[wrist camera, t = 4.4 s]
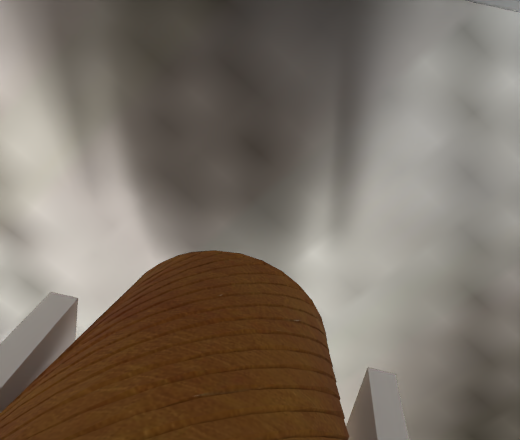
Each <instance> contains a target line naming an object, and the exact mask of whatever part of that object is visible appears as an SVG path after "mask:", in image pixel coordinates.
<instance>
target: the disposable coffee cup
mask: <svg viewBox="0 0 520 440" xmlns="http://www.w3.org/2000/svg"><path fill="white" fill-rule="evenodd" d="M332 367H333V365H332V362H331V358H330V354H329V348H328V345H327V338H326V332H325V329H324V325H323V322H322V319H321V316H320V314H319V312H318V311H317V309H316V307H315V305H314V303H313V301H312V300H311V299H310V298H309V296H308V295H307V294H306V293H305V292H304V290H303V289H302V288H301V287H300V286H299V285H298V284H297V283H296V282H295V281H293V280H292V279H291V278H290V277H288V276H287V275H286V274H285V273H283V272H282V271H281V270H279V269H277V268H275V267H273V266H271V265H269V264H268V263H266V262H264V261H262V260H259V259H256V258H253V257H250V256H247V255H244V254H240V253H232V252H223V251H201V252H190V253H186V254H182V255H178V256H176V257H173V258H171V259H169V260H166V261H164V262H162V263H160V264H158V265H157V266H155V267H154V268H152V269H151V270H149V271H147V272H146V273H145V274H144V275H143V276H142V277H141V278H140V279H139V280H138V281H137V282H136V283H135V284H134V285H133V286H132V287H131V288H130V289H128V290H127V291H126V292H125V293H124V294H123V295H122V296H121V297H120V298H119V299H118V300H117V301H116V302H115V303H114V304H113V305H112V306H111V307H110V308H109V309H108V310H107V311H106V312H104V313H103V314H102V315H101V316H100V317H99V318H98V319H97V320H96V321H95V322H94V323H93V324H92V325H91V326H90V327H89V328H88V329H87V330H86V331H85V332H84V333H83V334H82V335H81V336H80V337H79V338H78V339H77V340H75V341H74V342H73V343H72V344H71V345H70V346H69V347H68V348H67V349H66V350H65V351H64V352H63V353H62V354H61V355H60V356H59V357H58V358H57V359H56V360H55V361H54V362H53V363H52V364H51V365H50V366H48V367H47V368H46V369H45V370H44V371H43V372H42V373H41V374H40V375H39V376H38V377H37V378H36V379H35V380H34V381H33V382H32V383H31V384H30V385H29V386H28V387H27V388H26V389H25V390H24V391H23V392H22V393H21V394H20V395H19V396H18V397H17V398H16V399H15V400H13V401H12V402H11V403H10V404H9V405H8V406H7V407H6V408H5V409H4V410H3V411H2V412H1V413H0V440H348V439H349V434H348V431H347V428H346V425H345V422H344V419H345V417H344V414H343V410H342V407H341V404H340V396H339V393H338V389H337V386H336V379H335V375H334V372H333V368H332Z"/></svg>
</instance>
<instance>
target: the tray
mask: <svg viewBox="0 0 520 440" xmlns="http://www.w3.org/2000/svg"><path fill="white" fill-rule="evenodd" d="M466 1H471V2H475V3H480V4H484V5H489V6H494V7H498V8H503V9H507V10H512V11H516V12H520V0H466Z"/></svg>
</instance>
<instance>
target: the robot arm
mask: <svg viewBox="0 0 520 440" xmlns="http://www.w3.org/2000/svg"><path fill="white" fill-rule="evenodd" d="M77 305H78V298H75V297H71V296H67V295H63V294H58V293H54V292H50V293H49V294H48V296H47V297H46V298H45V299H44V300H43V301H42V302H41V303H40V304H39V305H38V306H37V307H36V308H35V309H34V310H33V311H32V312H31V313H30V314H29V315H28V316H27V317H26V318H25V319H24V320H23V321H22V322H21V323H20V324H19V325H18V326H17V327H16V328H15V329H14V330H13V331H12V332H11V334H10V335H9V336H8V337H7V338H6V339H5V340H4V341H3V342H2V343H1V344H0V413H1V412H2V411H3V410H4V409H5V408H6V407H7V406H8V405H9V404H10V403H11V402H12V401H13V400H15V399H16V398H17V397H18V396H19V395H20V394H21V393H22V392H23V391H24V390H25V389H26V388H27V387H28V386H29V385H30V384H31V383H32V382H33V381H34V380H35V379H36V378H37V377H38V376H39V375H40V374H41V373H42V372H43V371H44V370H45V369H46V368H47V367H48V366H50V365H51V364H52V363H53V362H54V361H55V360H56V359H57V358H58V357H59V356H60V355H61V354H62V353H63V352H64V351H65V350H66V349H67V348H68V347H69V346H70V345H71V344H72V343H73V342H74V341H75V337H76V321H77ZM346 428H347V431H348V434H349V439H348V440H409V436H408V431H407V427H406V422H405V417H404V412H403V407H402V403H401V398H400V393H399V388H398V383H397V378H396V374H394V373H389V372H385V371H381V370H377V369H373V368H369V367H368V368H367V371H366V374H365V377H364V379H363V382H362V385H361V388H360V390H359V393H358V396H357V399H356V401H355V404H354V407H353V410H352V412H351V415H350V418H349V421H348V423H347V426H346Z"/></svg>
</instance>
